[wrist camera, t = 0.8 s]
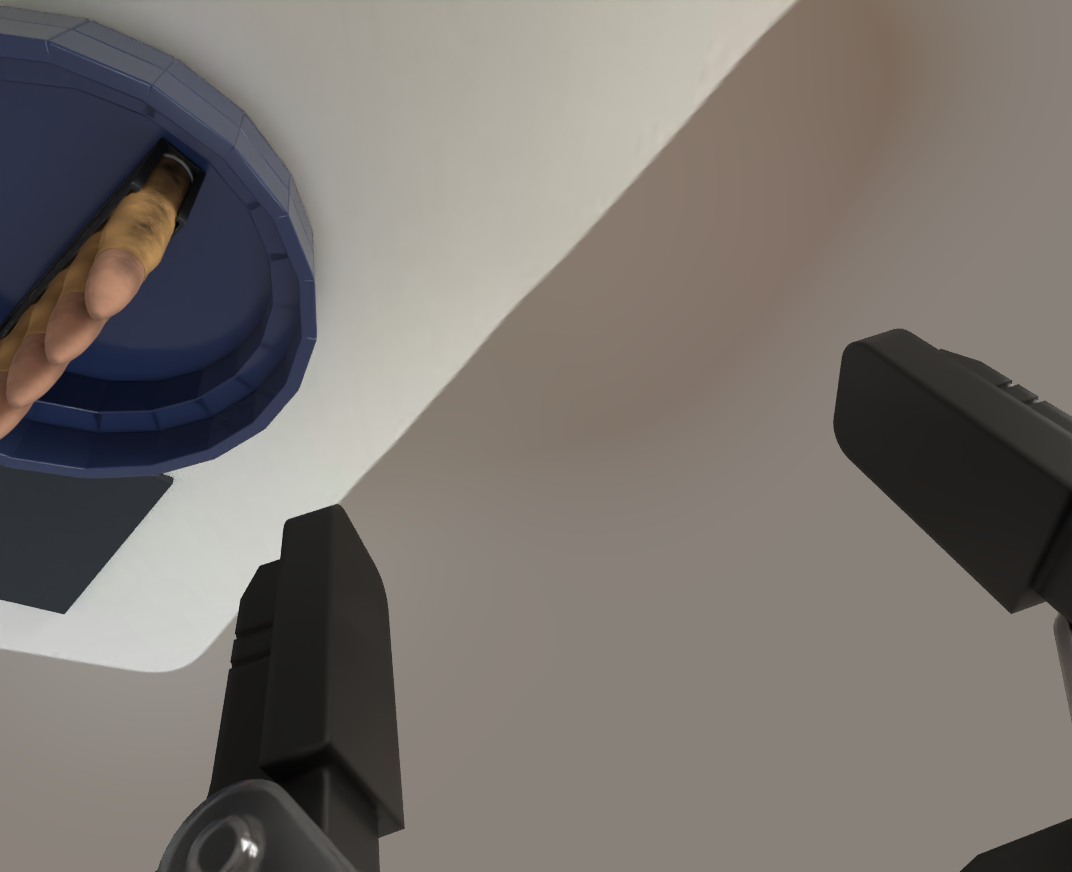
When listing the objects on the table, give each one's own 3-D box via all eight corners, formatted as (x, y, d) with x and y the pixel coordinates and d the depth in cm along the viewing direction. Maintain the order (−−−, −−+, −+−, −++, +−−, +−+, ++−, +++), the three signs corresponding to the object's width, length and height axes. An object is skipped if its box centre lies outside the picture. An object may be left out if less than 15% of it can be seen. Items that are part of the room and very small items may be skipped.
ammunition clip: (51, 347, 27) (-70, 554, 18) (3, 321, 26) (-152, 529, 17) (208, 173, 25) (155, 314, 16) (162, 135, 24) (79, 266, 15)
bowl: (-243, 273, 23) (-352, 345, 19) (-57, -131, 18) (-151, -143, 15) (195, 456, 33) (180, 527, 29) (388, 223, 28) (401, 271, 24)
